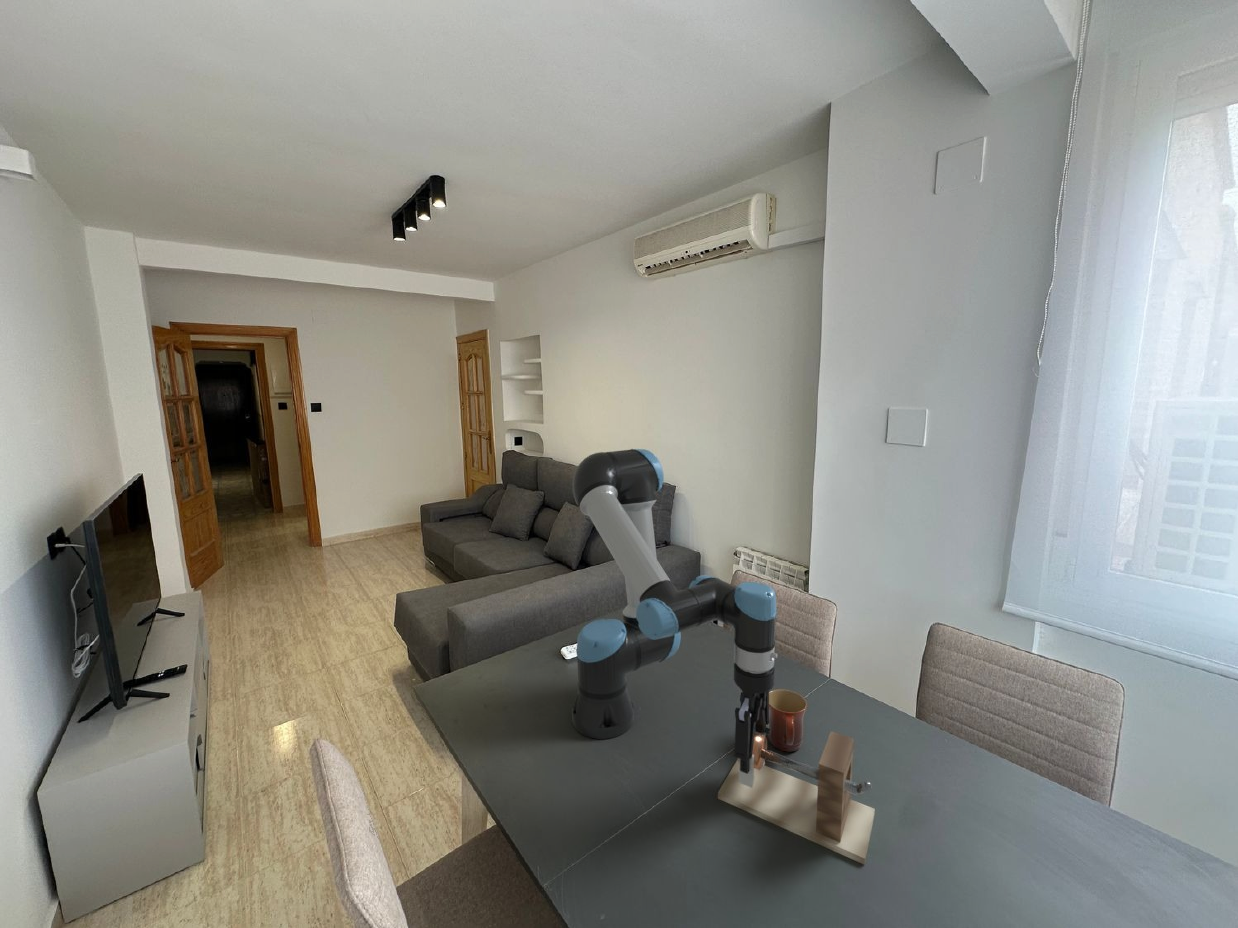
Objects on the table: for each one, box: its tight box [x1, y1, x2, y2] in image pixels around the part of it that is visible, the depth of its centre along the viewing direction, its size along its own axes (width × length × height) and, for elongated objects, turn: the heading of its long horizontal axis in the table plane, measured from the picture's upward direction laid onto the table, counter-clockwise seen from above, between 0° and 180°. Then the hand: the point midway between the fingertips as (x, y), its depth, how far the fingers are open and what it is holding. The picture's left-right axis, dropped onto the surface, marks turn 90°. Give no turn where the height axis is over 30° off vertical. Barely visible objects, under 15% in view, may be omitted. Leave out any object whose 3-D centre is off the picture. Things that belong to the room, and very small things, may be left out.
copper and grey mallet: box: [736, 733, 873, 796], centre depth 95 cm, size 24×6×6 cm, turn 56°
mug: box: [767, 688, 808, 753], centre depth 111 cm, size 12×9×10 cm
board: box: [717, 760, 876, 866], centre depth 96 cm, size 26×12×1 cm, turn 56°
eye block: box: [816, 730, 855, 842], centre depth 91 cm, size 4×10×13 cm, turn 146°
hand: (751, 772), depth 100 cm, fingers closed on copper and grey mallet, 6 cm apart
